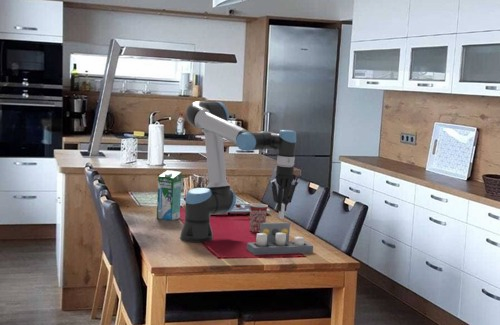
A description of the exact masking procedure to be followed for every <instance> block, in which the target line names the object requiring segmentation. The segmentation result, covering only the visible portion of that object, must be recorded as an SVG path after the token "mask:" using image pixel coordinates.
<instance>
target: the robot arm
mask: <svg viewBox="0 0 500 325" xmlns="http://www.w3.org/2000/svg"><path fill="white" fill-rule="evenodd" d="M185 118H186V121H187V122H188V123H189V124H190V125H191V126H192V127H194V128H198V129H200V130H201V132H202V133H203V134H204V140H205V141H204V142H205V144H204V145H205V152H206V154H205V155H206V163H207V164H206V166H207V177H208V179H207V180H208V184H207V185H206V186H205V187H200V188H199V187H195V188H192V189H189V190H187V191H186V195H185V196H186V197H185V199H184V200H185V214H184V215H185V216H184V223H183V226H182V229H181V232H180V240H182V241H184V242H189V243H208V242H211V241H213V237H214V234H213V230H212V226H211V223H210V222H211V216H212V215H216V214H224V213H227V212H230V211H231V210H232V209H233V208H234V206H235V204H237V196H236V193H235V192H234V190H233V189H231V184H230V183H229V182H227V173H226V159H225V158H226V157H225V151H224V150H225V148H224V146H225V145H224V139H225V140H226V141H230V142H231V143H234V144H236V147H237V148H238V150H241V151H246V152H248V151H249V152H250V151H261V150H272V151H277V159H276V160H277V161H276V164H277V165H276V168H275V169H276V171H275V172H276V176H275V177H274V179H273V180H270V181H269V183H270V185H271V191H272V198H273V202H274V203H276V204H277V207H276V209H277V211H278V216H277V217H278V219H280V220H284V219H285V212H286V211H287V205H288V204H290V203H292V200H293V196H294V193H295V191H296V188H297V186H298V184H299V182H298V181H296V180H295V178H294V171H295V167H294V166H295V160H296V146H297V132H296V131H295V130H290V129H280V130H279V133H276V132H271V131H267V130H266V131H265V130H264V131H263V130H262V131H260V132H252V131H249V130H247V129H245V128H243V127H241V126H239V125H237V124H235V123H232V122H230V121H229V119H230V113H229V109H228V107H227V106H226V105H225V104H224V103H223V102H221V101H216V100H215V101H214V100H213V101H210V100H209V101H206V100H205V101H204V100H203V101H200V100H197V101H196V100H195V101H193V102H192V103H190V104H189V105H187V108H186V110H185ZM277 188H278V189H277Z"/></svg>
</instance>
